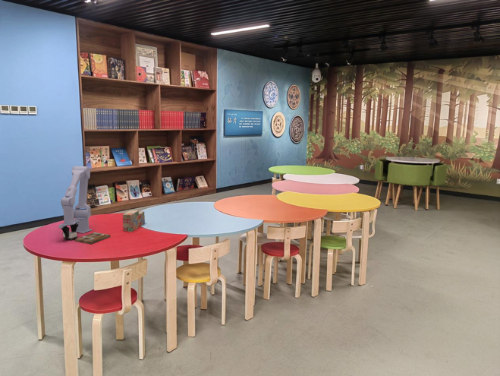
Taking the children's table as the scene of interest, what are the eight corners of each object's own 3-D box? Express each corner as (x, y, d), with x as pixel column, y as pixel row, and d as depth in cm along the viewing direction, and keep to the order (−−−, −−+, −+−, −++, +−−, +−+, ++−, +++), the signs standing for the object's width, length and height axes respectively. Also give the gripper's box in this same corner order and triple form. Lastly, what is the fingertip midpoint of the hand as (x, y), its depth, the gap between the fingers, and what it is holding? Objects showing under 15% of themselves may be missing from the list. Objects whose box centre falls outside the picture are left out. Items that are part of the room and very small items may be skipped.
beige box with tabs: (62, 238, 241) (61, 232, 240) (68, 236, 245) (67, 230, 244) (71, 240, 238) (71, 234, 237) (77, 238, 242) (77, 232, 241)
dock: (74, 241, 237) (74, 237, 237) (94, 234, 252) (93, 230, 251) (91, 244, 232) (91, 240, 231) (110, 237, 246) (110, 233, 246)
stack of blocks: (137, 223, 280) (136, 206, 278) (145, 223, 279) (144, 207, 277) (123, 231, 259) (122, 214, 257) (131, 232, 258) (131, 214, 256)
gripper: (63, 219, 230) (65, 240, 233) (82, 213, 243) (84, 234, 246) (55, 217, 233) (57, 239, 235) (74, 212, 246) (76, 232, 248)
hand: (70, 236), depth 241 cm, fingers closed on beige box with tabs, 4 cm apart
